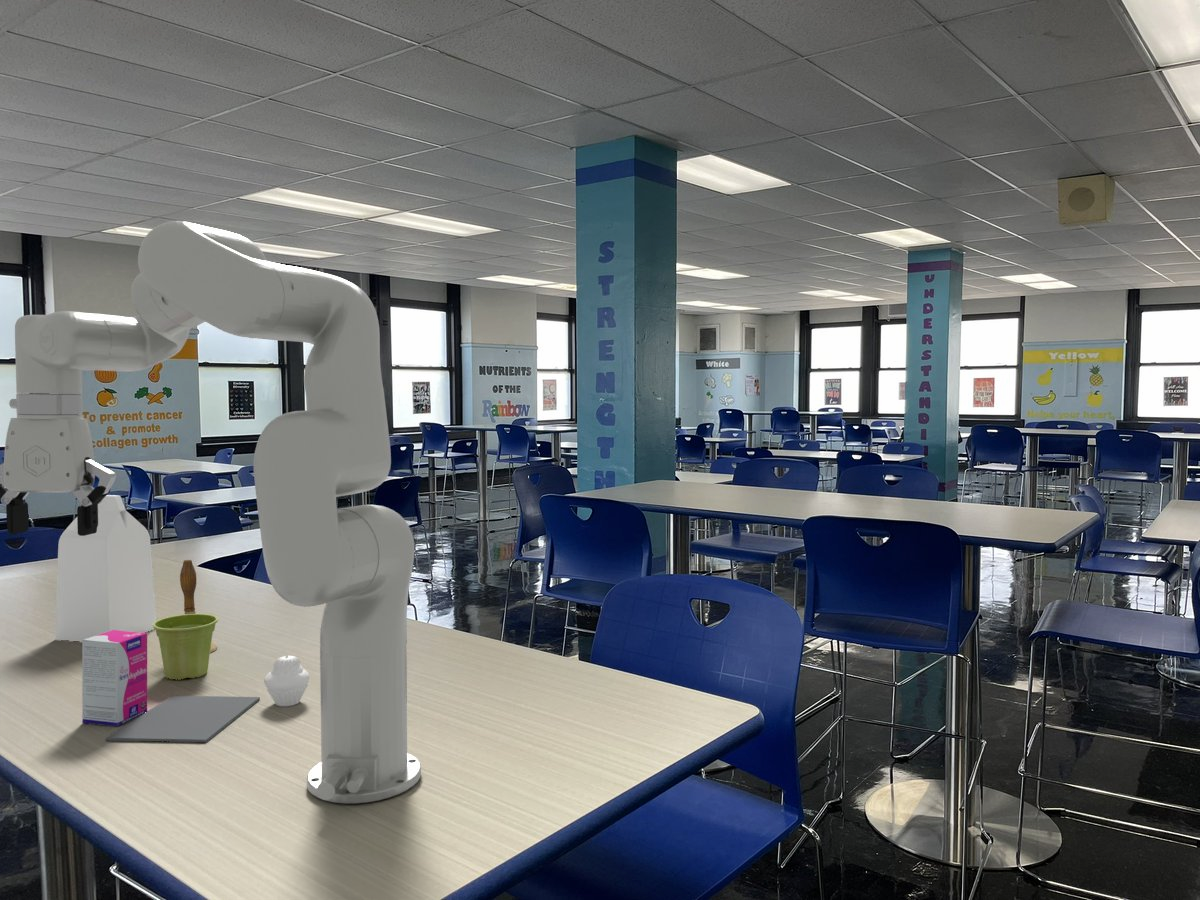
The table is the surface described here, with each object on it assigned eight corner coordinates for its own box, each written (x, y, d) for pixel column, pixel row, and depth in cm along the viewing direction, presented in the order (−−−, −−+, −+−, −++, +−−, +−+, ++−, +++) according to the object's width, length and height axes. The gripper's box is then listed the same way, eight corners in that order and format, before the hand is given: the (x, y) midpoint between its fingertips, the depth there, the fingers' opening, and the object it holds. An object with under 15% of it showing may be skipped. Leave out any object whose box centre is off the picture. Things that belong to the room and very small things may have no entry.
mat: (206, 742, 110) (206, 739, 110) (106, 740, 111) (106, 737, 111) (259, 699, 126) (259, 697, 126) (172, 698, 127) (172, 695, 127)
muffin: (319, 700, 126) (318, 653, 126) (284, 713, 121) (283, 663, 120) (290, 693, 129) (289, 646, 129) (255, 705, 124) (254, 657, 124)
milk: (55, 640, 157) (50, 497, 156) (105, 624, 169) (101, 491, 167) (110, 644, 154) (106, 499, 153) (157, 628, 166) (154, 493, 164)
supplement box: (119, 727, 115) (117, 642, 115) (81, 723, 116) (78, 639, 116) (150, 712, 121) (148, 631, 120) (113, 709, 122) (111, 628, 121)
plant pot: (232, 668, 141) (231, 615, 140) (190, 686, 132) (188, 630, 131) (184, 663, 143) (183, 611, 143) (139, 681, 134) (138, 626, 134)
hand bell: (171, 661, 145) (169, 566, 144) (159, 650, 151) (157, 559, 151) (223, 652, 150) (221, 561, 149) (209, 641, 157) (207, 554, 156)
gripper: (-34, 407, 114) (-30, 536, 114) (95, 409, 113) (97, 539, 114) (7, 406, 121) (10, 528, 122) (128, 408, 120) (130, 530, 121)
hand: (52, 533), depth 118 cm, fingers open, 9 cm apart
